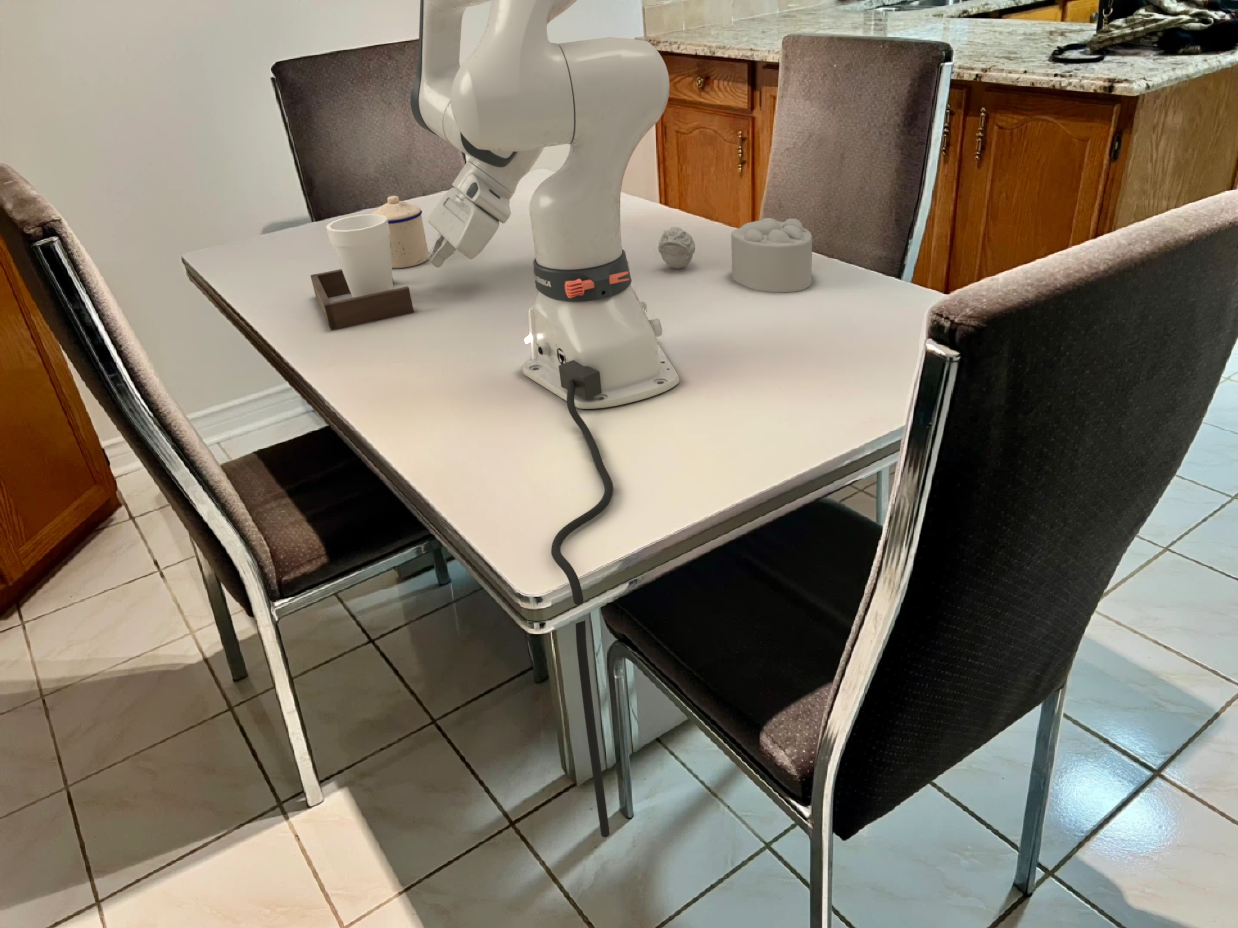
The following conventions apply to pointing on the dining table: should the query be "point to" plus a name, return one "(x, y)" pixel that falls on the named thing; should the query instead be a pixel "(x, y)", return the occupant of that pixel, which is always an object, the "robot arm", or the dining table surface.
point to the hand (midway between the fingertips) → (432, 263)
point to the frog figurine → (676, 247)
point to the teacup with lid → (404, 233)
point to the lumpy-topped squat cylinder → (772, 255)
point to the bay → (357, 301)
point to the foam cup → (363, 252)
